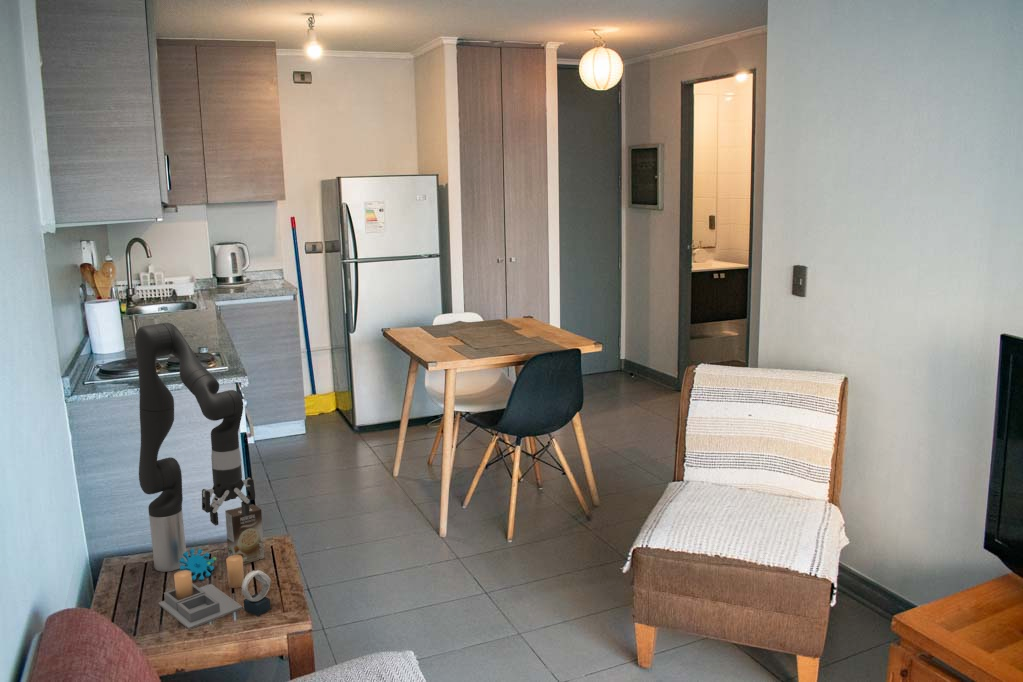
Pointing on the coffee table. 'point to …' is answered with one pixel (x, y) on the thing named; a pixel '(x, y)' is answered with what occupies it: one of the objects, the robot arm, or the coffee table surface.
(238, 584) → the orange peg
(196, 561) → the blue knobbed wheel
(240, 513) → the coffee box
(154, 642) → the coffee table surface
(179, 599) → the housing
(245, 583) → the watch
